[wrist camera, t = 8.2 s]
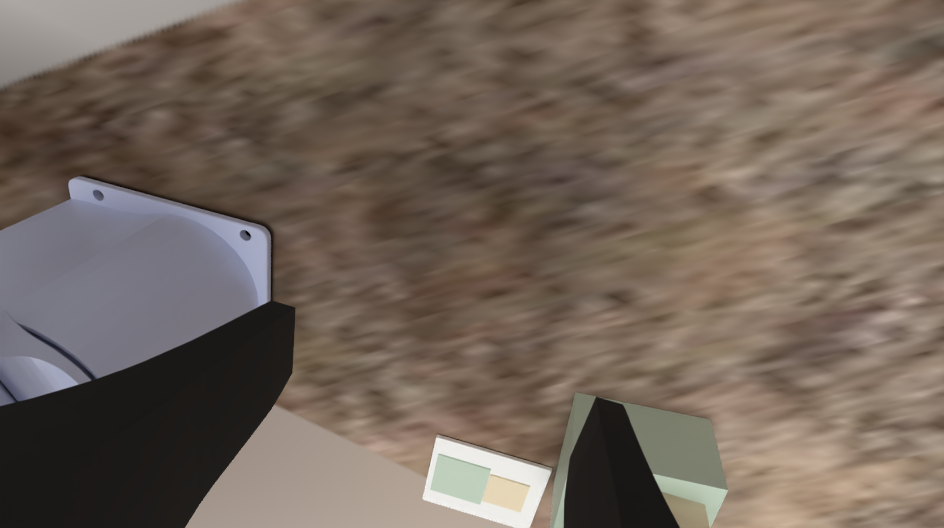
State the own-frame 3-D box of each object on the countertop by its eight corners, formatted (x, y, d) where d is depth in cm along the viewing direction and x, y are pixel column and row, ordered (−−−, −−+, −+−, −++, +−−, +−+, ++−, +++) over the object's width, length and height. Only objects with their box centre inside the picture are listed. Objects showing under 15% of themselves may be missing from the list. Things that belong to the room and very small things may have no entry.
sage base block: (554, 478, 29) (548, 549, 25) (575, 389, 26) (571, 456, 22) (674, 505, 28) (684, 582, 24) (710, 417, 25) (727, 490, 21)
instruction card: (423, 496, 31) (421, 500, 31) (437, 434, 28) (435, 438, 28) (528, 528, 30) (527, 533, 30) (551, 467, 28) (551, 472, 28)
